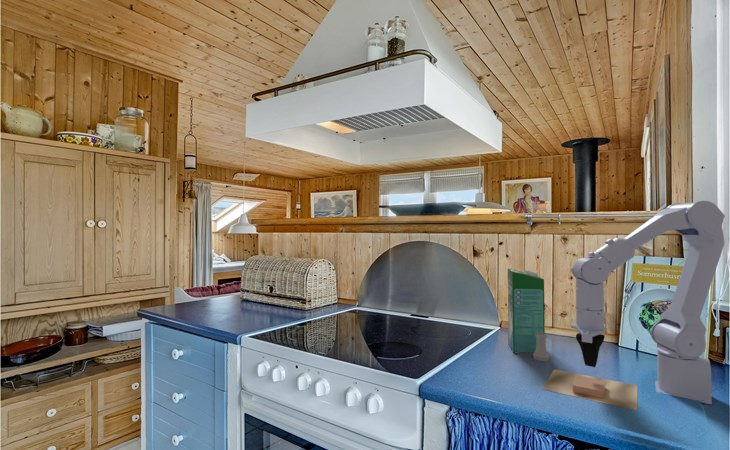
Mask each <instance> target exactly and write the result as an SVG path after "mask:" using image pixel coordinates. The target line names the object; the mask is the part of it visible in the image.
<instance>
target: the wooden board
mask: <svg viewBox="0 0 730 450" xmlns="http://www.w3.org/2000/svg"><path fill="white" fill-rule="evenodd" d="M577 375H578V376H583V377H588V378H593V379H598V380H603V381H606V389H605V394H604V398H599V397H595V396H590V395H585V394H581V393H576V392H573V383H574V381H575V378H576V376H577ZM542 390H544V391H547V392H548V391H549V392H553V393H557V394H562V395H566V396H571V397H575V398H580V399H584V400H588V401H593V402H597V403H602V404H606V405H610V406H615V407H620V408H623V409H628V410H632V411H638V385H637V384H633V383H628V382H627V383H626V382H622V381H617V380H611V379H607V378H601V377H596V376H592V375H587V374H580V373H576V372H570V371H565V370H560V369H556V368H555V369H554V368H553V370H552V372H551V374H550V375H549V377H548V379H547V380H546V383H545V384H544V386H543V388H542Z"/></svg>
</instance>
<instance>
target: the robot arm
mask: <svg viewBox="0 0 730 450" xmlns="http://www.w3.org/2000/svg"><path fill="white" fill-rule="evenodd" d="M725 217H726V215H725V214H724V213H723V211H722V210H721V209H720V208H719V207H718V206H717V205H716V203H714V202H713V201H709V200H698V201H694V202H676V203H672V204H670V205H668V206H667V207H666V208H663V209H660V210H659V211H658V213H656V214H655V215H654V216H652V217H651V218H649V220H647V221H645V222H644V223H643V224H642V225H640V226H639V227H637V228H635V230H633V231H632V232H631V233H629V234H628V235H626V236H625V237H624V238H621V237H614V238H608V239H606V240H605V241H604V245H602V246H601V247H599V248H598V249H596V250H595V251H590V252H588V253H587V256H588V257H581V258H579V259H577V260H576V261H575V262H574V264H573V266H572V268H571V274H572V275H573V276H574V278H575V307H576V309H575V311H576V312H575V314H576V315H575V316H576V319H575V321H576V322H575V323H571V324H570V328H571V329H575V330H576V331H577V334H576V335H575V339H576V341H577V343H578V344H579V347H580V350H581V354H582V357H583V362H584V365H585V366H587V367H592V368H596V366H597V363H598V359H599V353H600V352H599V351H600V349H601V346H602V345H603V343H604V341H605V335H604V333H606V328H605V290H604V285H605V284H604V283H605V282H606V281H607V280H608V279H609V275H610V273H612V272H613V271H614V270H616V269H618V268H620V267H621V266H622V265H624V264H625V263H627V262H629V261H630V260H632V259H633V258H634V257H635V253H636V250H637V249H638V248H640V247H641V246H643V245H646V244H647V243H649V242H650V241H652V240H654V239H656V238H658V236H660V235H662V234H664V233H666V232H667V231H675V232H676V233H678V234H679V235H681V236H682V237H683V238H684V239H685V240H686V242H687V243H688V244H689V246H690V247H689V249H688V252H687V255H686V258H685V262H684V264H683V267H682V270H681V274H680V277H679V280H678V283H677V286H676V289H675V291H674V293H673V298H672V301H671V303H670V307H669V308H668V309H667V310H665V311H663V312H662V313H661V314H660V316H659V318H658V320H657V321H656V322H655V323H654V324H653V325H652V326H651V329H650V336H651V339H652V340H653V342H654V343H655V344H656V348H657V349H656V351H657V353H656V354H657V356H656V357H657V358H656V359H657V361H656V362H657V380H655V381H654V382H655V383H654V384H655V391H656V393H658V394H664V395H669V396H674V397H678V398H685V399H689V400H693V401H698V402H700V403H701V404H706V405H712V404H713V402H712V393H713V385H712V369H711V368H712V367H711V362H710V359H709V358H706V357H701V356H702V354H704V352H705V350H706V349H707V348H706V347H707V343H706V338H705V337H706V336H705V335H706V331H707V328H706V326H705V324H704V323H703V320H701V315H702V313H703V309H704V306H705V303H706V302H707V301H706V300H707V297H708V294H709V292H710V291H709V290H710V288H711V286H712V282H713V279H714V277H715V274H716V270H717V268H718V264H719V261H720V259H721V255H722V253H723V249H724V247H725V236H724V230H723V223H724V220H725Z"/></svg>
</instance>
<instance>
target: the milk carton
mask: <svg viewBox="0 0 730 450" xmlns="http://www.w3.org/2000/svg"><path fill="white" fill-rule="evenodd" d="M538 275H539V272H537V271H533V270H529V269H524V271H521V270H517V269H512V268H509V267H508V268H507V326H508V327H507V335H508V336H507V339H508V343H507V344H508V345H509V347H510V350H511V351H512V353H514V354H519V353H521V352H522V353H523V352H524V353H534V352H535V350H536V339H537V338H536V337H535V335H536V332H538V333H539V331H540V332H541V333H542V332H544V333H546V332H545V331H546V329H545V328H546V326H545V325H546V323H545V320H546V319H545V316H546V315H545V279H544V278H542V277H540V276H538Z"/></svg>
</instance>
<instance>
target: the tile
mask: <svg viewBox="0 0 730 450" xmlns="http://www.w3.org/2000/svg"><path fill="white" fill-rule="evenodd" d="M605 389H606V381H603V380H598V379H593V378H588V377H583V376H578V375H577V376H576V378H575V381H574V383H573V392H576V393H581V394H585V395H590V396H595V397H599V398H604V394H605Z"/></svg>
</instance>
